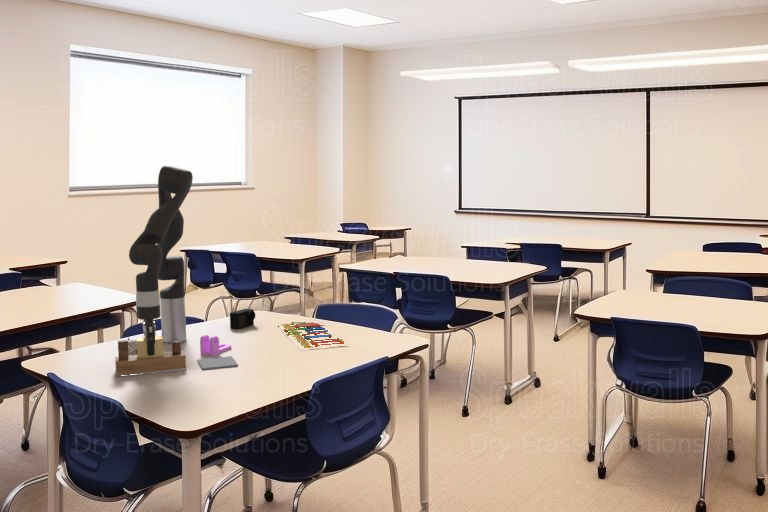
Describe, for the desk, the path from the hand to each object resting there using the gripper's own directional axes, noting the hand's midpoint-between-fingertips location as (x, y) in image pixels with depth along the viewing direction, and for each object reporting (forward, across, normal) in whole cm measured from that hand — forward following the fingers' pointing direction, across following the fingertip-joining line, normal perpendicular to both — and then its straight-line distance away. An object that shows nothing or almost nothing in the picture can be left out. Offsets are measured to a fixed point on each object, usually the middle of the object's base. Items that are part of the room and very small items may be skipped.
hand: (150, 352), depth 247 cm
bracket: (+7, +18, -25) cm, 32 cm away
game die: (+6, +15, +5) cm, 17 cm away
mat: (+6, 0, -22) cm, 23 cm away
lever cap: (+1, 0, 0) cm, 1 cm away
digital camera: (+6, +54, -42) cm, 69 cm away
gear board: (+7, +28, -64) cm, 70 cm away
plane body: (+6, 0, 0) cm, 6 cm away
